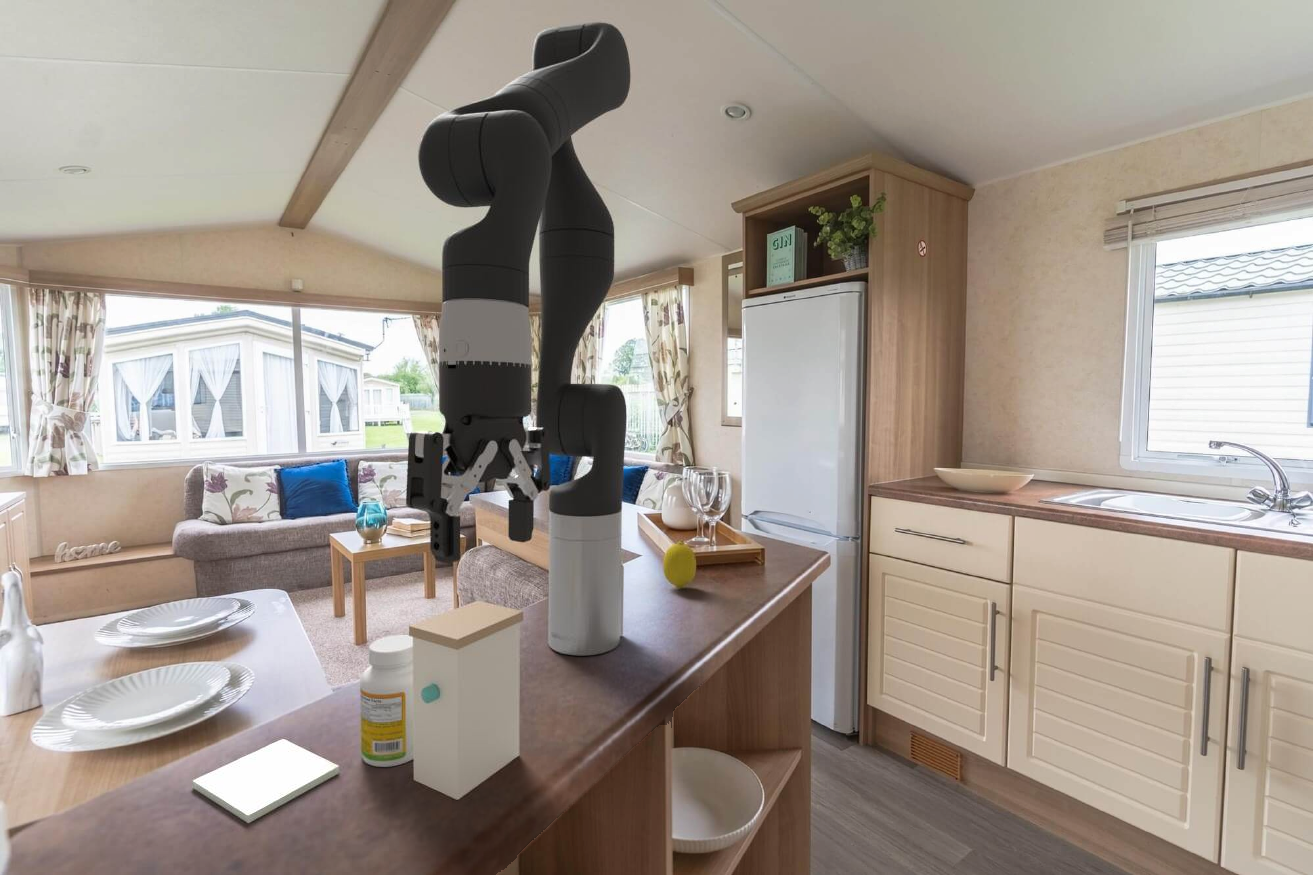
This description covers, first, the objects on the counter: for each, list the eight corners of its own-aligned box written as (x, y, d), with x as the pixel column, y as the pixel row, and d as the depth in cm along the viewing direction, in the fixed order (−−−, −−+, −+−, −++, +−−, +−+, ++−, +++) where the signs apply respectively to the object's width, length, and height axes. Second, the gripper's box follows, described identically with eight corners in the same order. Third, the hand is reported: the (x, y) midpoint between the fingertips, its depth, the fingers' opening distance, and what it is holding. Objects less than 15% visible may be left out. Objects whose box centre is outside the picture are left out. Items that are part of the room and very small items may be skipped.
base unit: (478, 737, 56) (478, 600, 55) (523, 754, 53) (524, 611, 53) (403, 784, 49) (402, 628, 48) (451, 806, 46) (451, 642, 46)
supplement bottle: (408, 727, 58) (407, 626, 57) (439, 749, 54) (439, 641, 54) (349, 752, 53) (348, 643, 53) (379, 777, 50) (378, 661, 49)
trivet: (283, 745, 54) (283, 738, 54) (339, 773, 50) (338, 765, 50) (192, 787, 48) (192, 780, 48) (248, 823, 44) (248, 815, 44)
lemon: (696, 594, 99) (697, 545, 99) (662, 593, 100) (663, 545, 99) (694, 584, 105) (695, 538, 105) (662, 583, 105) (663, 537, 105)
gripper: (511, 366, 59) (510, 531, 60) (382, 354, 47) (384, 562, 48) (573, 365, 56) (571, 540, 57) (452, 352, 43) (452, 577, 44)
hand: (485, 550), depth 52 cm, fingers open, 8 cm apart
